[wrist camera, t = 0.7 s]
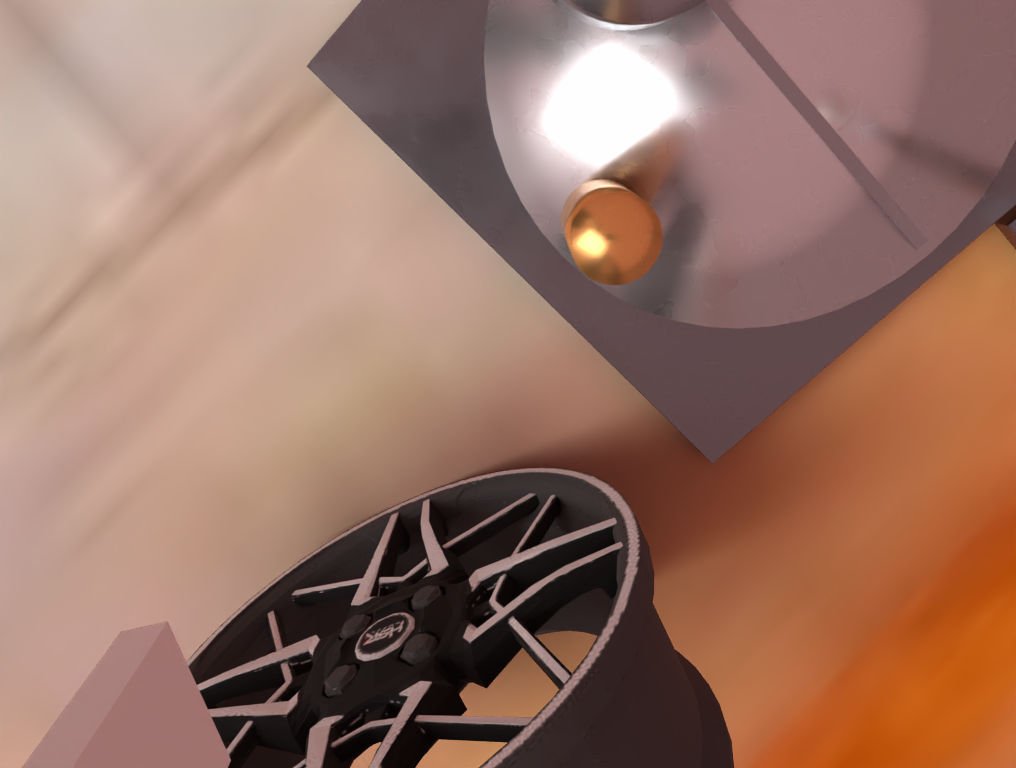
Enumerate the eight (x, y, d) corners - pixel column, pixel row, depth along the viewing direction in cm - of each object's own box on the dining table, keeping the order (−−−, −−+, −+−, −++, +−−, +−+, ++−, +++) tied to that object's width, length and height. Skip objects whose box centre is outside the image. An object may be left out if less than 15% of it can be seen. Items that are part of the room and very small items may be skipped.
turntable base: (312, 67, 32) (304, 65, 31) (781, -489, 27) (793, -518, 26) (707, 454, 38) (714, 466, 36) (1167, 59, 32) (1193, 57, 31)
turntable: (377, 64, 31) (340, 53, 24) (785, -406, 26) (876, -579, 20) (719, 408, 35) (767, 477, 29) (1120, 57, 31) (1287, 44, 24)
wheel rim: (605, 416, 37) (701, 736, 18) (677, 573, 40) (826, 996, 21) (231, 574, 40) (-23, 994, 21) (321, 711, 43) (168, 1194, 24)
